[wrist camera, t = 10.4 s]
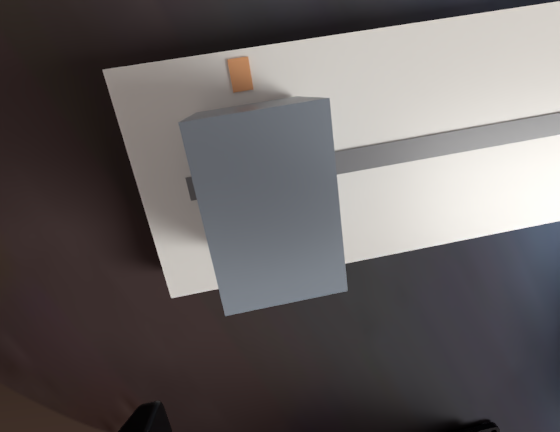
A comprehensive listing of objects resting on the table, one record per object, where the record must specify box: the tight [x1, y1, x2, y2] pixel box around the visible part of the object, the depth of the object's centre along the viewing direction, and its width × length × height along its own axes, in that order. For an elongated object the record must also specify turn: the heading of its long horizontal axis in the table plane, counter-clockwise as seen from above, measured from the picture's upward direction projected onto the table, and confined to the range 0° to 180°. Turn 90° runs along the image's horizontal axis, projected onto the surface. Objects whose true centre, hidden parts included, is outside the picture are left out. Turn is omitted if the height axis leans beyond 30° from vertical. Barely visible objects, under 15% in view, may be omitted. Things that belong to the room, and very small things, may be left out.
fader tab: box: [178, 96, 348, 316], centre depth 12 cm, size 6×4×5 cm, turn 9°
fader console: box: [102, 1, 560, 298], centre depth 17 cm, size 10×26×3 cm, turn 99°
